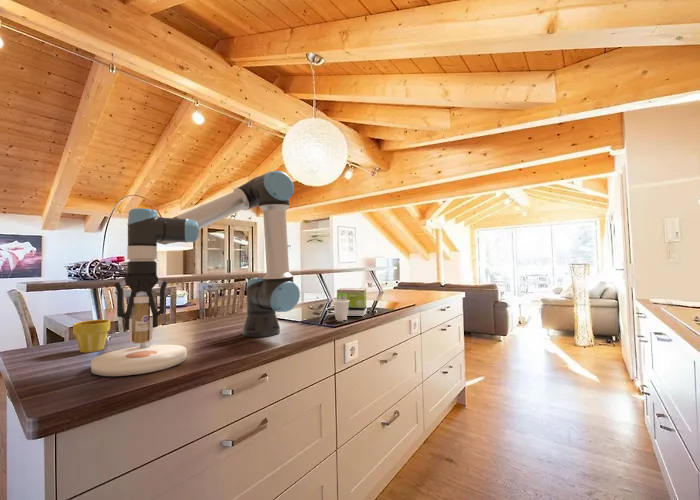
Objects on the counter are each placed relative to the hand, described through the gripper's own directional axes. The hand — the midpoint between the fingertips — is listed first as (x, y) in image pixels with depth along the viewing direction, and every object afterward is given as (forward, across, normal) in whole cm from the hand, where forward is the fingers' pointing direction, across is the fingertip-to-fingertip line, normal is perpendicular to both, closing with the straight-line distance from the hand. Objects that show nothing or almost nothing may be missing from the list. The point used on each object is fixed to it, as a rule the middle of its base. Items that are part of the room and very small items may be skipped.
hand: (141, 339), depth 102 cm
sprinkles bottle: (+1, 0, 0) cm, 1 cm away
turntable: (+7, 0, 0) cm, 7 cm away
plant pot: (+8, +18, -28) cm, 34 cm away
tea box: (+7, -93, -52) cm, 107 cm away
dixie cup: (+7, -82, -41) cm, 92 cm away
